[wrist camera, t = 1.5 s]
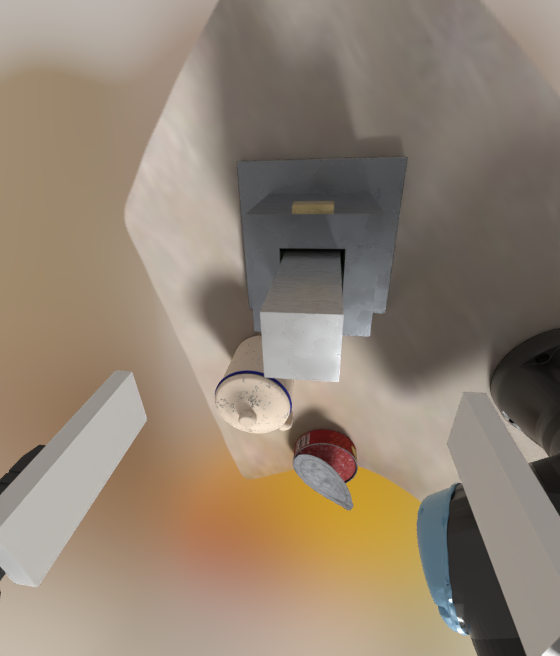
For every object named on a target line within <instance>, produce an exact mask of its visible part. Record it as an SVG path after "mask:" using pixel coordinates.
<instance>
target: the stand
mask: <svg viewBox="0 0 560 656" xmlns="http://www.w3.org/2000/svg"><path fill="white" fill-rule="evenodd" d="M406 164H407V157H405V156H396V157H360V158H325V159H290V160H254V161H238V162H237V170H238V181H239V193H240V205H241V216H242V228H243V240H244V251H245V263H246V274H247V286H248V298H249V309H253V322H254V331H256V332H261V320H260V311H261V308H262V306H263V303H264V301H265V299H266V296H267V294H268V292H269V289H270V287H271V285H272V282H273V280H274V277H275V275H276V273H277V270H278V268H279V266H280V263H281V261H282V259H283V256H284V254H285V252H286V249H287V248H313V249H340V262H341V278H342V295H343V312H344V317H343V331H342V335H348V336H370V331H371V323H372V315H373V313H385V312H386V305H387V298H388V291H389V284H390V277H391V270H392V263H393V256H394V248H395V241H396V234H397V227H398V220H399V213H400V206H401V199H402V192H403V185H404V178H405V171H406Z"/></svg>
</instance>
